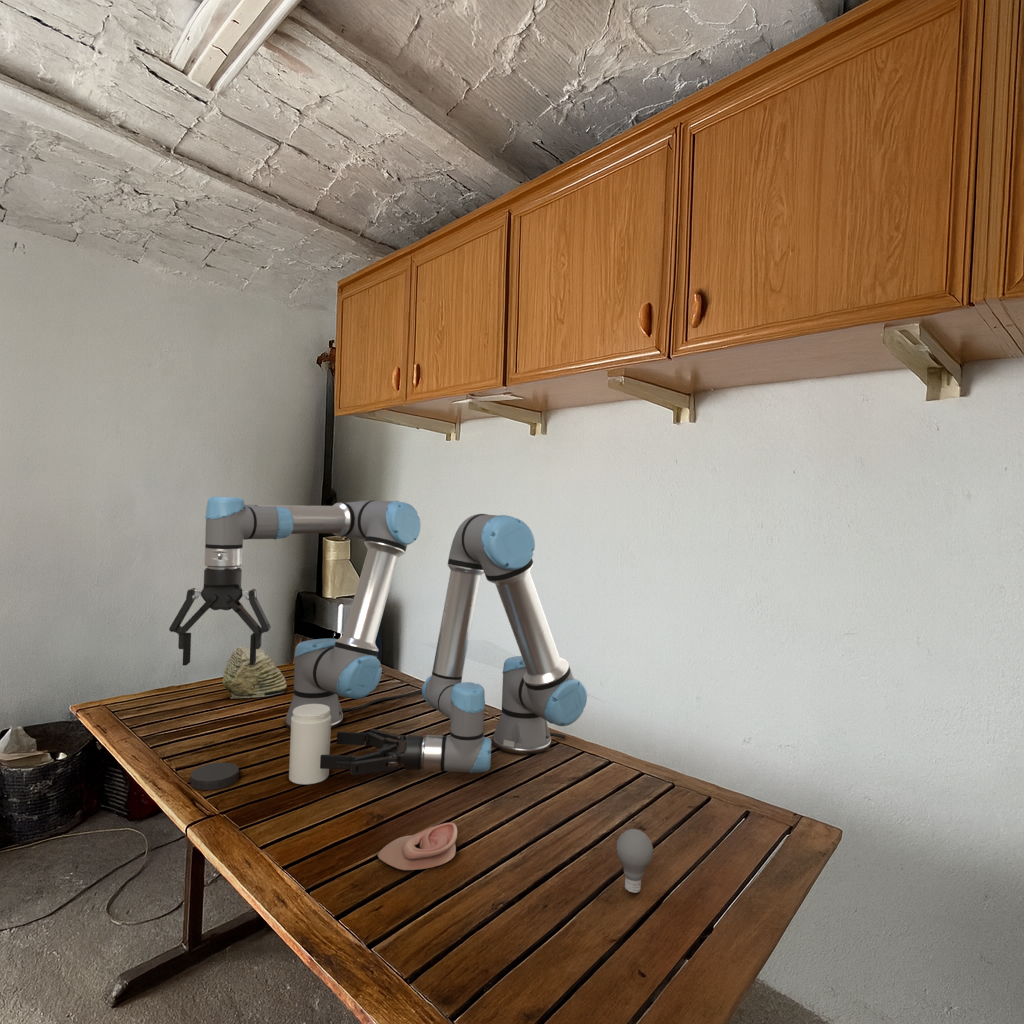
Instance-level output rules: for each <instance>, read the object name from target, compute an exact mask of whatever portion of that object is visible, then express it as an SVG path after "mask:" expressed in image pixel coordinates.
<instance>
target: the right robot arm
mask: <svg viewBox="0 0 1024 1024" xmlns="http://www.w3.org/2000/svg"><path fill="white" fill-rule="evenodd" d="M535 550H536V541H535V536H534V533H533V532H532V529H531V528H530V527H529V525H528V524H527V523H525V522H524V521H523V520H521V519H519V518H517V517H514V516H511V515H507V514H499V515H496V514H487V513H476V514H473V515H471V516H469V517H467V518H466V519H464V520H463V521H462V522H461V523H460V525H459V526H458V528H457V530H456V531H455V534H454V537H453V539H452V542H451V546H450V550H449V554H448V559H447V567H448V568H449V570H450V571H449V577H448V582H447V589H446V594H445V600H444V605H443V611H442V616H441V622H440V627H439V633H438V638H437V644H436V648H435V654H434V659H433V665H432V671H431V675H429V676H428V677H427V678H426V679H425V681H424V683H423V684H422V687H421V690H422V693H421V695H422V698H423V699H424V701H425V702H426V703H427V704H428V705H429V706H430V707H431V708H433V709H435V710H437V711H438V712H439V713H440V714H442V715H443V716H445V717H446V718H447V719H449V720H450V725H449V726H450V729H449V735H436V734H435V735H434V734H426V736H425V737H424V735H422V734H408V735H404V734H403V735H402V734H396V733H393V732H392V733H391V732H388V731H384V730H380V729H377V728H371V729H370V730H369V731H366V732H361V731H360V732H359V731H357V732H356V731H337V732H336V745H345V746H346V745H347V746H348V745H349V746H365V747H369V746H371V747H374V748H376V749H378V750H377V751H374V752H371V753H367V754H363V755H359V756H354V754H351V755H341V754H340V755H339V754H330V755H321V756H320V769H329V770H348V771H349V772H350V775H351V776H359V775H363V774H371V773H376V772H377V773H378V772H383V771H396V770H398V764H401V763H402V764H403V768H404V770H406V771H421V770H422V769H423V771H426V772H427V771H428V772H429V771H431V772H433V773H435V774H436V773H437V772H454V773H468V774H477V773H478V774H479V773H487V772H489V770H490V768H491V762H492V761H491V760H492V759H491V758H492V739H493V745H494V746H495V747H496V748H497V749H499V750H500V751H503V752H506V753H509V754H516V755H536V754H541V753H544V752H546V751H547V750H549V749H550V748H551V747H552V737H554V738H560V739H566V734H563V733H556V732H550V729H549V724H551V725H552V724H553V725H555V726H558V727H567V726H570V725H572V724H574V723H575V722H576V721H577V720H578V719H579V718H580V717H581V716H582V714H583V713H584V709H585V707H586V706H587V702H588V690H587V688H586V686H585V685H584V684H583V682H582V681H580V680H579V679H577V678H574V676H573V673H572V670H571V667H570V664H569V662H568V660H567V659H565V658H563V657H560V654H559V652H558V649H557V646H556V643H555V640H554V637H553V634H552V632H551V631H552V630H551V628H550V625H549V622H548V620H547V617H546V614H545V612H544V608H543V606H542V603H541V599H540V597H539V594H538V591H537V589H536V586H535V583H534V580H533V577H532V574H531V570H532V568H533V566H534V564H535V563H534V559H533V556H534V551H535ZM483 574H484V576H485V578H486V581H488V582H490V583H492V584H494V585H495V587H496V590H497V592H498V595H499V599H500V601H501V603H502V606H503V609H504V612H505V614H506V617H507V620H508V622H509V625H510V627H511V628H510V629H511V631H512V633H513V636H514V639H515V641H516V644H517V647H518V650H519V653H520V655H516V656H515V655H514V656H510V657H508V658H506V659H505V660H504V662H503V667H502V689H501V713H500V716H499V718H498V721H497V724H496V727H495V730H494V732H493V738H492V739H491V738H490V737H486V736H484V722H485V708H486V699H485V698H486V697H485V695H486V694H485V688H484V687H483V685H482V684H480V683H474V682H471V681H463V675H464V668H465V664H466V660H467V659H466V658H467V652H468V648H469V641H470V636H471V633H472V632H471V631H472V626H473V620H474V614H475V609H476V604H477V598H478V594H479V593H478V592H479V587H480V582H481V577H482V575H483ZM462 681H463V682H462ZM548 723H549V724H548Z"/></svg>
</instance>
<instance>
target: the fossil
mask: <svg viewBox="0 0 1024 1024" xmlns="http://www.w3.org/2000/svg"><path fill="white" fill-rule="evenodd" d="M222 676H223V677H222V685H223V687H224V688H225V690H226V691H228V693H229V698H230V699H250V698H264V697H271V696H275V695H281V694H284V693H285V691H286V689H287V687H288V686H287V680H286V678H285V676H284V674H283V673H282V672H281V669H279V668H278V667H277V665H276V663H275V662H274V660H273V659H272V658H271V657H270V656H269V655H268V654H267V653H266V652H265V650H264V649H263V648H261V647H260V648H259V649H256V662H255V663H254V665H250V647H247V646H246V647H245V646H238V647H237V648H236V649H235V650H233V651H232V653H231V656H230V657H229V659H228V660H227V663H226V666H225V668H224V671H223V675H222Z"/></svg>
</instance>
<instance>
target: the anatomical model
mask: <svg viewBox="0 0 1024 1024" xmlns="http://www.w3.org/2000/svg"><path fill="white" fill-rule="evenodd" d="M457 840H458V827H457V825H456V823H454V822H444V823H439V824H437V825H434V826H431V827H428V828H426V829H424V830H422V831H420V832H418V833H415V834H412V835H404V836H401V837H398V838H396V839H393V840H392V841H391V842H389V843H387V844H386V845H385V846H383V848H382V849H380V851H379V852H378V853H377V858H378V859H379V860H380V861H382V862H383V863H384V864H386V865H389V866H390V867H393V868H395V869H397V870H399V871H415V870H416V871H417V870H424V869H430V868H435V867H439V866H441V865H444V864H447V863H448V862H449V861H452V859H454V857H455V856H456V852H457V847H456V846H457V845H456V841H457Z"/></svg>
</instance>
